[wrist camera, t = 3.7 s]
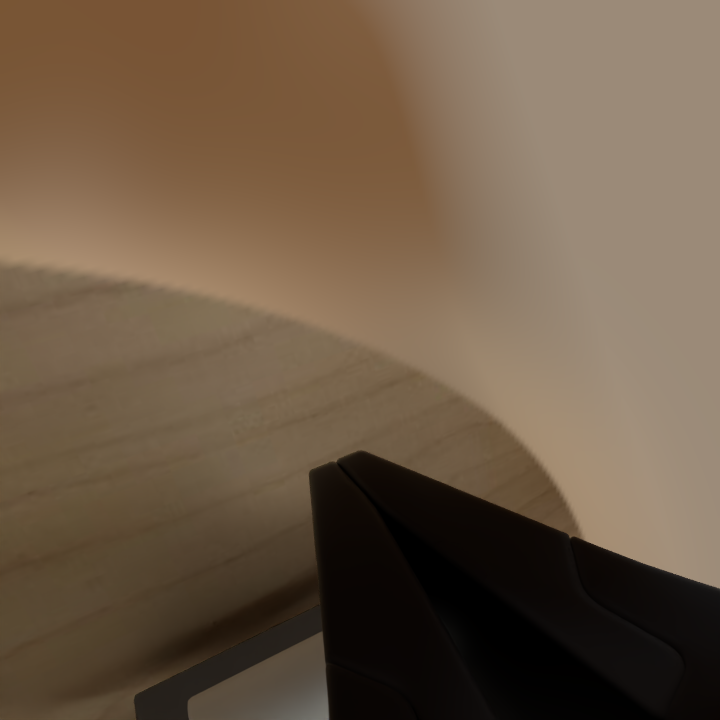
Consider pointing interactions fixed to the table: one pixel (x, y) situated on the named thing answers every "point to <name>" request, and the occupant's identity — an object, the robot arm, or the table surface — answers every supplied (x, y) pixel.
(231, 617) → the table surface
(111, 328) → the table surface
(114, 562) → the table surface
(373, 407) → the table surface
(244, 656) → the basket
